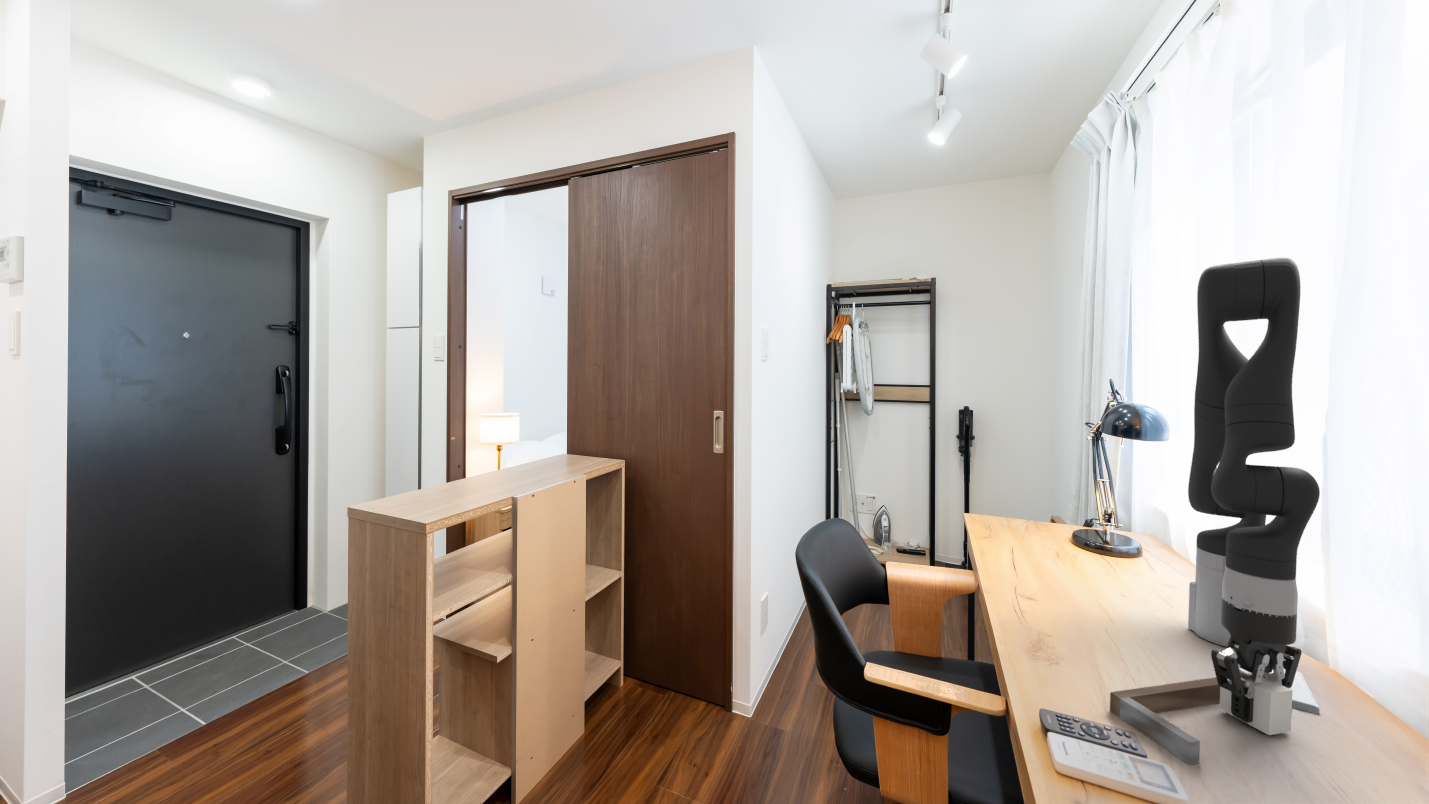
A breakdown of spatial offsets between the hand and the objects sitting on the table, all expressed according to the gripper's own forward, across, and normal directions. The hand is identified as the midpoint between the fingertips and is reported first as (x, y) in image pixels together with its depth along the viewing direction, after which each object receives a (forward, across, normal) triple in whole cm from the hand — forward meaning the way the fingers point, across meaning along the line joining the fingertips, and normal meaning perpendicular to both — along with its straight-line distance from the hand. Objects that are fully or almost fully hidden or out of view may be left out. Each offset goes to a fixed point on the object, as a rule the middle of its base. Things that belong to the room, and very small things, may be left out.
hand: (1253, 716), depth 75 cm
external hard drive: (+2, -14, -7) cm, 16 cm away
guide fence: (+1, +6, -1) cm, 6 cm away
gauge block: (+1, 0, 0) cm, 1 cm away
